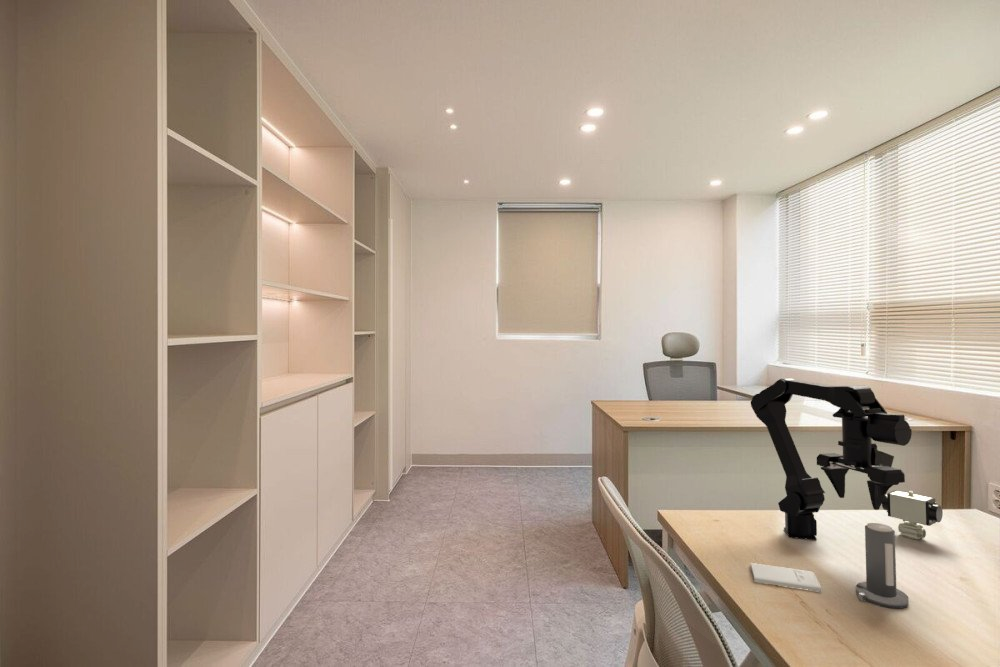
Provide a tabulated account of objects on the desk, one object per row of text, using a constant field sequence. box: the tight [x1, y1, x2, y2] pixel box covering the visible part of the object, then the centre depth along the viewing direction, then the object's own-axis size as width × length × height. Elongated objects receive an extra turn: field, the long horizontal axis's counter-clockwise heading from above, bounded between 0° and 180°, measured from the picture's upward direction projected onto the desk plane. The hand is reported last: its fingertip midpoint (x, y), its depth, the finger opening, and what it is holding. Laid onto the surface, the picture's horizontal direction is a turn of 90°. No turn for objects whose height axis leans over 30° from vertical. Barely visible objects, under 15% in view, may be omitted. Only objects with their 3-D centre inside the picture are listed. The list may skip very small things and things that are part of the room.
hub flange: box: [855, 581, 910, 610], centre depth 100 cm, size 9×8×1 cm
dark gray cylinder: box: [864, 522, 897, 597], centre depth 100 cm, size 5×5×13 cm
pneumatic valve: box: [881, 490, 944, 541], centre depth 131 cm, size 6×12×12 cm, turn 32°
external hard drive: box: [750, 562, 823, 593], centre depth 108 cm, size 2×8×12 cm
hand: (858, 503), depth 119 cm, fingers open, 9 cm apart
